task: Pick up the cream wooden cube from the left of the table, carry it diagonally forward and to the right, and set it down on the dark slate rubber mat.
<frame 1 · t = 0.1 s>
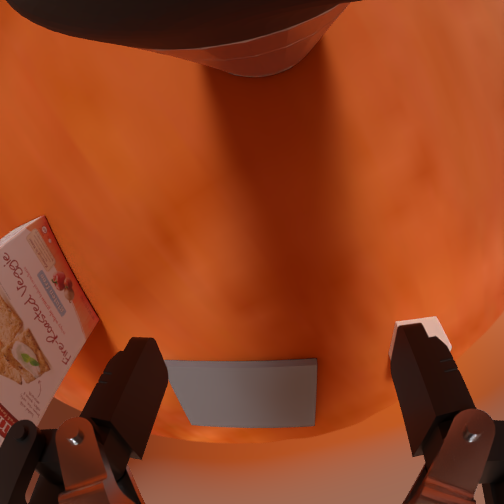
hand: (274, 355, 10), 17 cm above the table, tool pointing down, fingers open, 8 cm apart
slate mat: (245, 395, 38), on the table
cream cube: (412, 335, 32), on the table
cracker box: (58, 271, 32), on the table
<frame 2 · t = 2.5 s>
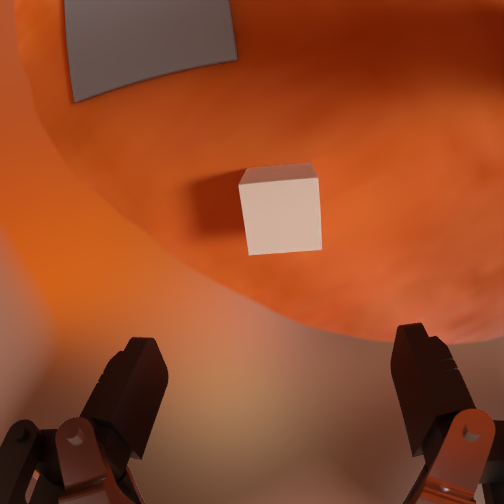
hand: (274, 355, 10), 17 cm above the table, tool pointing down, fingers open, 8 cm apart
cream cube: (282, 195, 25), on the table
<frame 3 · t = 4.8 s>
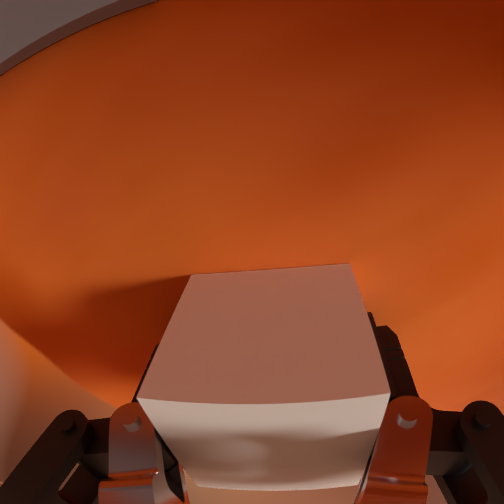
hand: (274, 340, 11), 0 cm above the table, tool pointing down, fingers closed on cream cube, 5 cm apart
cream cube: (276, 331, 11), on the table, touching gripper
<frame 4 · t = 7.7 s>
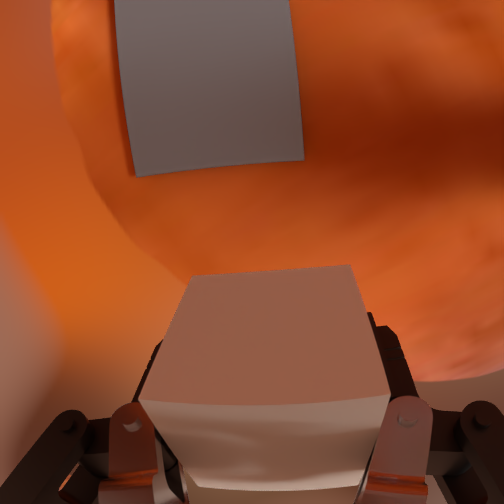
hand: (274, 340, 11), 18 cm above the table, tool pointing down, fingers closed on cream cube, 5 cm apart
slate mat: (204, 58, 21), on the table
cream cube: (276, 331, 11), point 17 cm above the table, touching gripper
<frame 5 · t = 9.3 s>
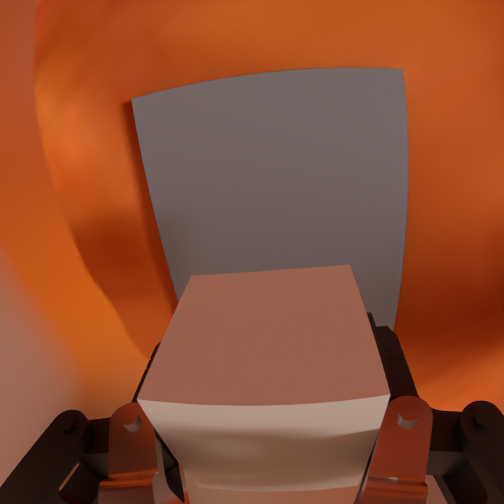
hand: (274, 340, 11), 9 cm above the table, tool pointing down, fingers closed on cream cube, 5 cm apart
slate mat: (283, 234, 18), on the table
cream cube: (276, 332, 11), point 8 cm above the table, touching gripper
when the fingers open (2 cm above the table, at t = 10.6 s): cream cube stays where it is, resting on slate mat.
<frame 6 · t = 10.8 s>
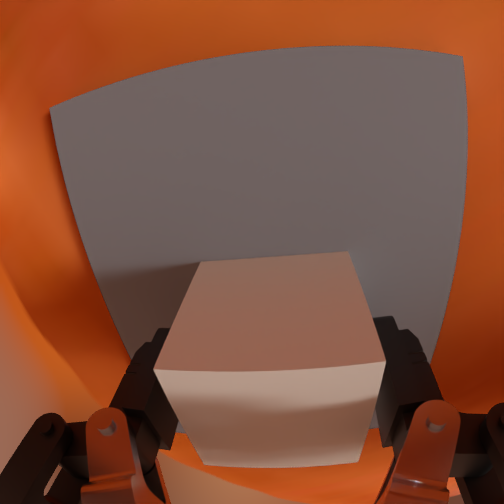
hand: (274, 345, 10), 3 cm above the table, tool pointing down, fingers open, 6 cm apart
slate mat: (276, 300, 13), on the table
cream cube: (279, 316, 12), point 1 cm above the table, touching slate mat
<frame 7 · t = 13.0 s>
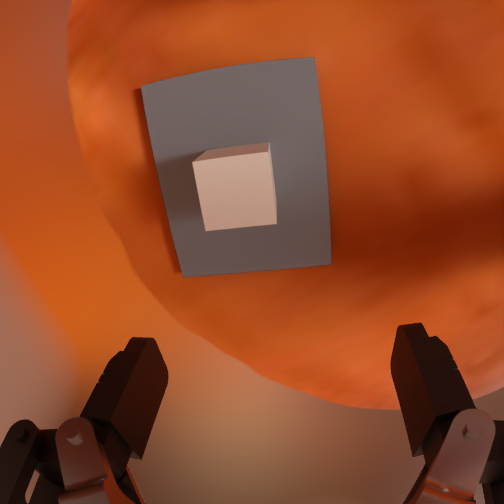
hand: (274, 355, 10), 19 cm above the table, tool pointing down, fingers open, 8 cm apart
slate mat: (241, 172, 26), on the table
cream cube: (242, 175, 25), point 1 cm above the table, touching slate mat
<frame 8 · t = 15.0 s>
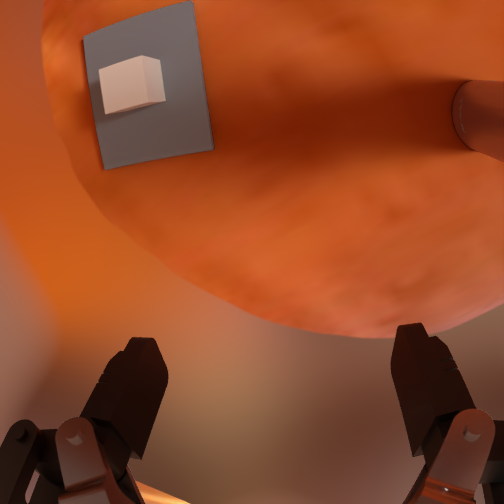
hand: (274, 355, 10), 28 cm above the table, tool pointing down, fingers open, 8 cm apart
slate mat: (144, 85, 31), on the table
cream cube: (142, 85, 31), point 1 cm above the table, touching slate mat
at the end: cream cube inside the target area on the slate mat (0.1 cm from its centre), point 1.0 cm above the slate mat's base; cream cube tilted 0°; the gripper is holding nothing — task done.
